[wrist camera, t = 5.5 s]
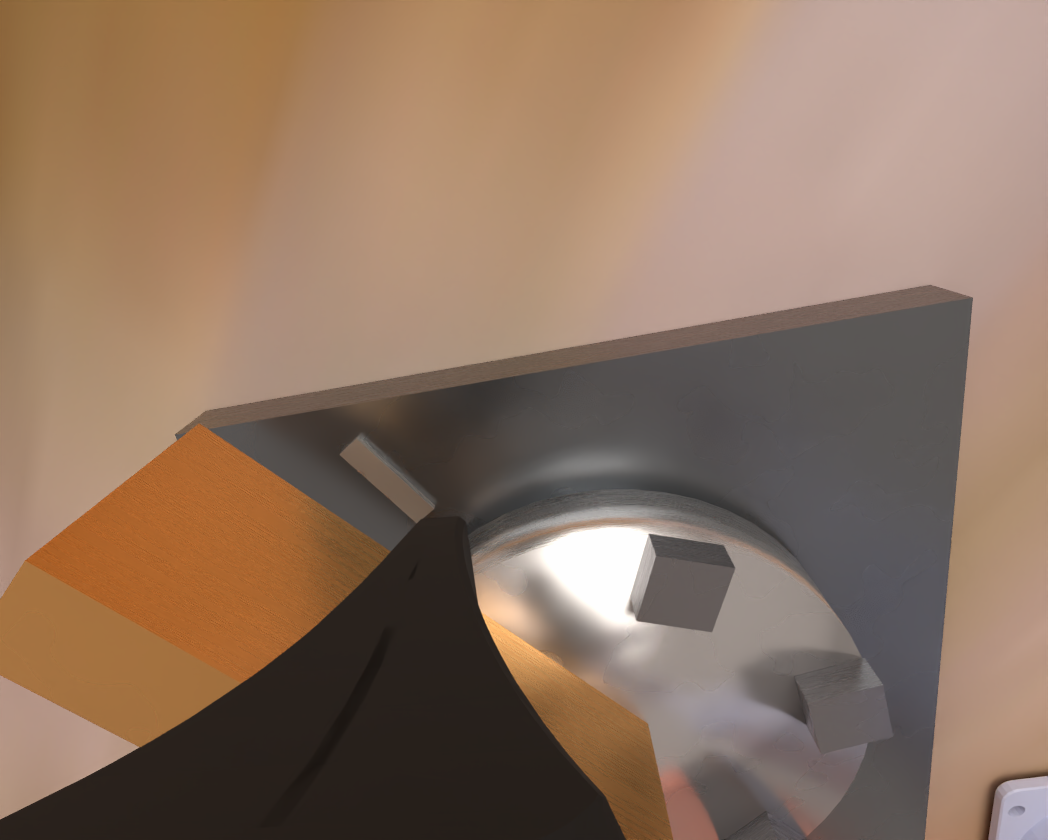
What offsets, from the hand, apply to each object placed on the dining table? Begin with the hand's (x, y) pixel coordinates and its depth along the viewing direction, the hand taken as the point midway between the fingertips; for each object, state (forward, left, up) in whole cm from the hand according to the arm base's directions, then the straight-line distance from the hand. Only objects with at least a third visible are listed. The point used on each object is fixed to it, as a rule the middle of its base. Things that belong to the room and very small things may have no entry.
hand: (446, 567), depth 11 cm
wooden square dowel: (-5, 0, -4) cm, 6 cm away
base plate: (-7, -2, -6) cm, 10 cm away
